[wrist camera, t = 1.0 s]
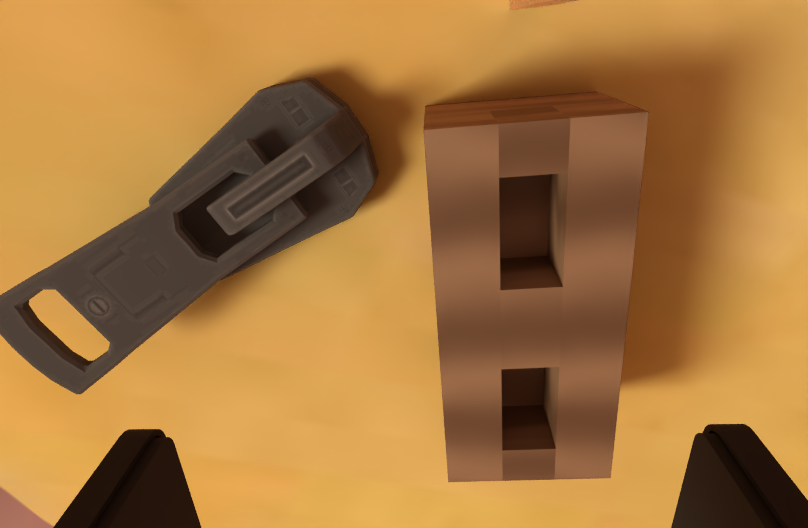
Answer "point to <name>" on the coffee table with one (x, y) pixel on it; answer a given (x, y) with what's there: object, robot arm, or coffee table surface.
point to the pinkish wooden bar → (534, 3)
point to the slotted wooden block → (532, 279)
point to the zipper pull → (203, 227)
